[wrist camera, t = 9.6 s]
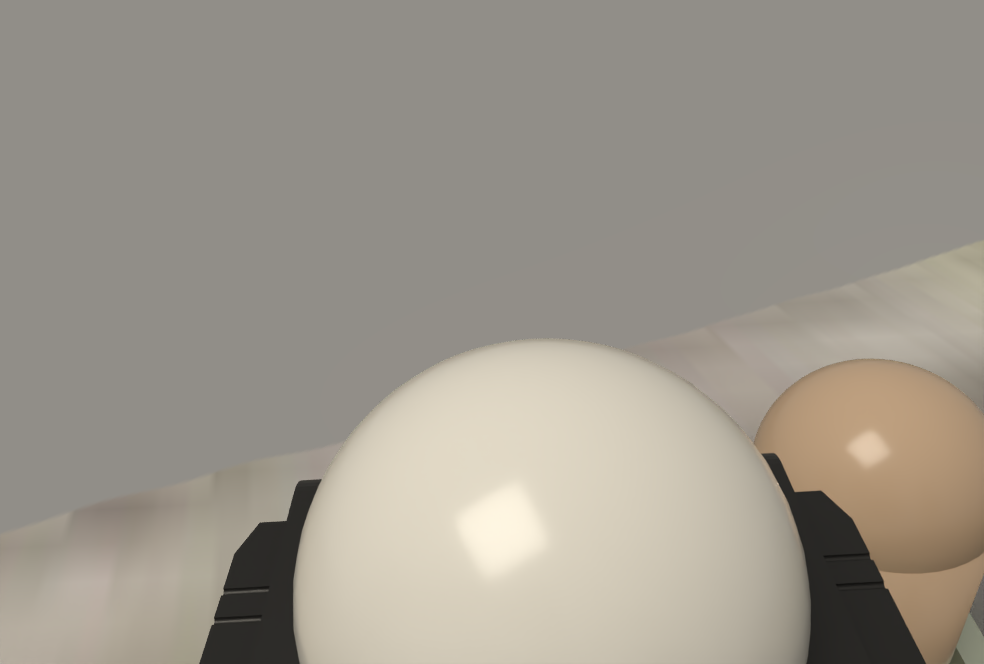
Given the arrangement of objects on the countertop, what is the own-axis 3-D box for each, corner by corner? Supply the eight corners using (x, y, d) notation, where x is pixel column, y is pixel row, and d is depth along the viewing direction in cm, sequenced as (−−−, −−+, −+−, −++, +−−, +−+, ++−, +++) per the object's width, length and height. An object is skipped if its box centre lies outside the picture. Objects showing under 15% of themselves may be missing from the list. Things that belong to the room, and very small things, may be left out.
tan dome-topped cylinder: (746, 801, 20) (810, 476, 14) (700, 627, 24) (736, 320, 18) (954, 791, 20) (1102, 459, 14) (873, 619, 24) (963, 308, 18)
